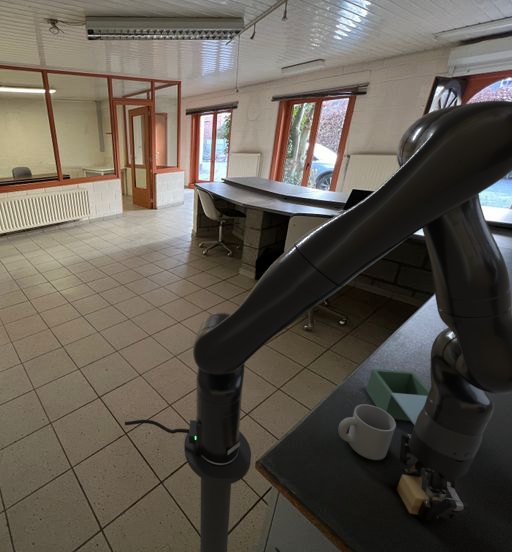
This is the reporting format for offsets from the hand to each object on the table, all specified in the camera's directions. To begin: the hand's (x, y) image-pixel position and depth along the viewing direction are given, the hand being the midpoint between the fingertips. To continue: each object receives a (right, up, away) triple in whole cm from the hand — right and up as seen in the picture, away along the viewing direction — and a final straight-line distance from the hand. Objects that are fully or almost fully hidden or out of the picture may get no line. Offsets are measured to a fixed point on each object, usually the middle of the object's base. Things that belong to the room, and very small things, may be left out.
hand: (416, 502), depth 56 cm
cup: (-2, +4, +12) cm, 13 cm away
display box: (+14, +9, +21) cm, 27 cm away
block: (0, 0, 0) cm, 0 cm away
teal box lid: (+11, +13, +9) cm, 19 cm away
